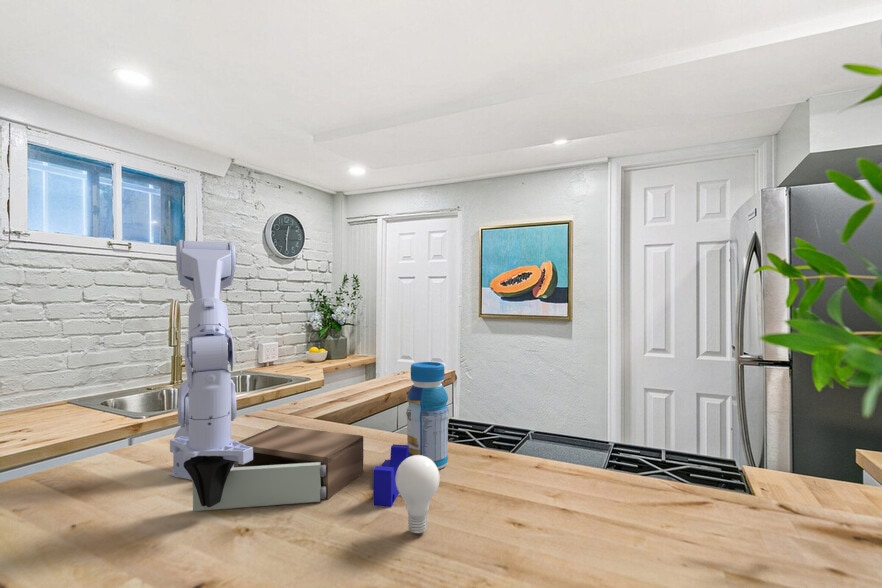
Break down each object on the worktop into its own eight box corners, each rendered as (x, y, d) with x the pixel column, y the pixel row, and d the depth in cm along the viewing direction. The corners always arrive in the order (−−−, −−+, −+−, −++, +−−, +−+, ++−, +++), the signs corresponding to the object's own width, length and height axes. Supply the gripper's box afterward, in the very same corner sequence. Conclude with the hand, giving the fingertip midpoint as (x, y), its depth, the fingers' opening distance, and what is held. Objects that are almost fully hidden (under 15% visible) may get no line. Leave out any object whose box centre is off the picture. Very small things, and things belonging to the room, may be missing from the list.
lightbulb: (423, 550, 60) (423, 468, 60) (386, 536, 64) (386, 459, 63) (448, 528, 66) (447, 453, 65) (412, 517, 69) (412, 445, 69)
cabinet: (234, 482, 82) (233, 443, 82) (278, 459, 93) (277, 425, 93) (328, 499, 75) (327, 457, 75) (363, 472, 86) (363, 435, 86)
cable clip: (385, 475, 85) (385, 443, 85) (408, 477, 84) (408, 445, 84) (364, 505, 73) (364, 469, 73) (391, 507, 72) (391, 470, 72)
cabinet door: (193, 511, 70) (192, 472, 70) (195, 507, 72) (195, 469, 71) (325, 501, 74) (325, 464, 74) (326, 497, 75) (326, 461, 75)
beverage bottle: (440, 475, 85) (440, 368, 84) (399, 469, 87) (399, 366, 87) (454, 458, 92) (453, 361, 92) (415, 454, 95) (415, 359, 95)
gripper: (151, 417, 67) (151, 507, 67) (226, 427, 62) (227, 525, 62) (191, 405, 74) (192, 488, 74) (263, 413, 69) (263, 502, 69)
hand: (210, 503), depth 68 cm, fingers closed
